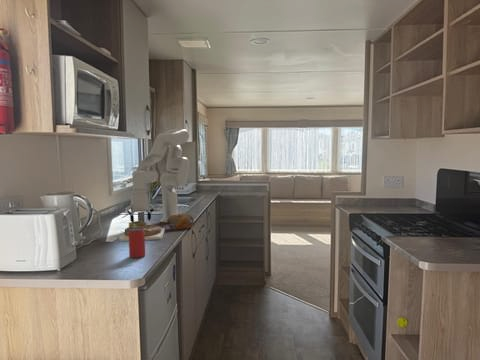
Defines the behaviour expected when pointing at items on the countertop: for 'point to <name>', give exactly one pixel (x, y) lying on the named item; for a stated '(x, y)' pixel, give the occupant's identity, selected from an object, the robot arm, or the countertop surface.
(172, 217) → the tin
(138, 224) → the dial
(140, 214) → the grey rounded cylinder
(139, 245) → the beer can
